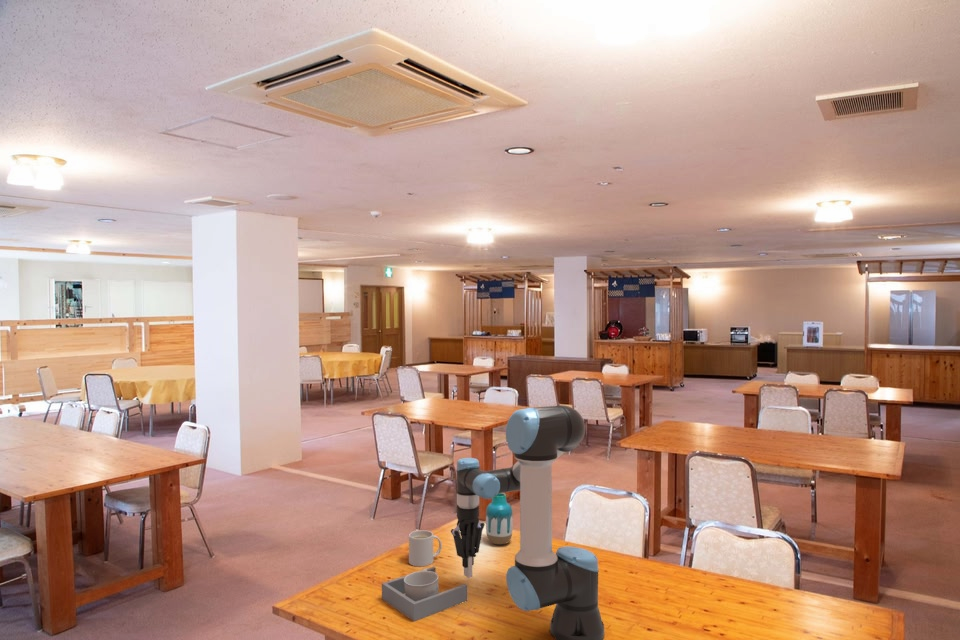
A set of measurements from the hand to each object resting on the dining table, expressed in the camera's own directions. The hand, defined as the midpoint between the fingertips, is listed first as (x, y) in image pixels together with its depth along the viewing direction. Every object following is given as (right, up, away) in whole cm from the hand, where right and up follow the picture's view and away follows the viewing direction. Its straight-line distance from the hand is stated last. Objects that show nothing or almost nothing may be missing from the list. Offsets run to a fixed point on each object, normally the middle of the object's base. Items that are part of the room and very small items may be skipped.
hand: (468, 575), depth 207 cm
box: (-14, -3, -11) cm, 18 cm away
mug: (-16, -3, +19) cm, 25 cm away
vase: (+12, -3, +37) cm, 39 cm away
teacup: (-14, -3, -11) cm, 18 cm away
